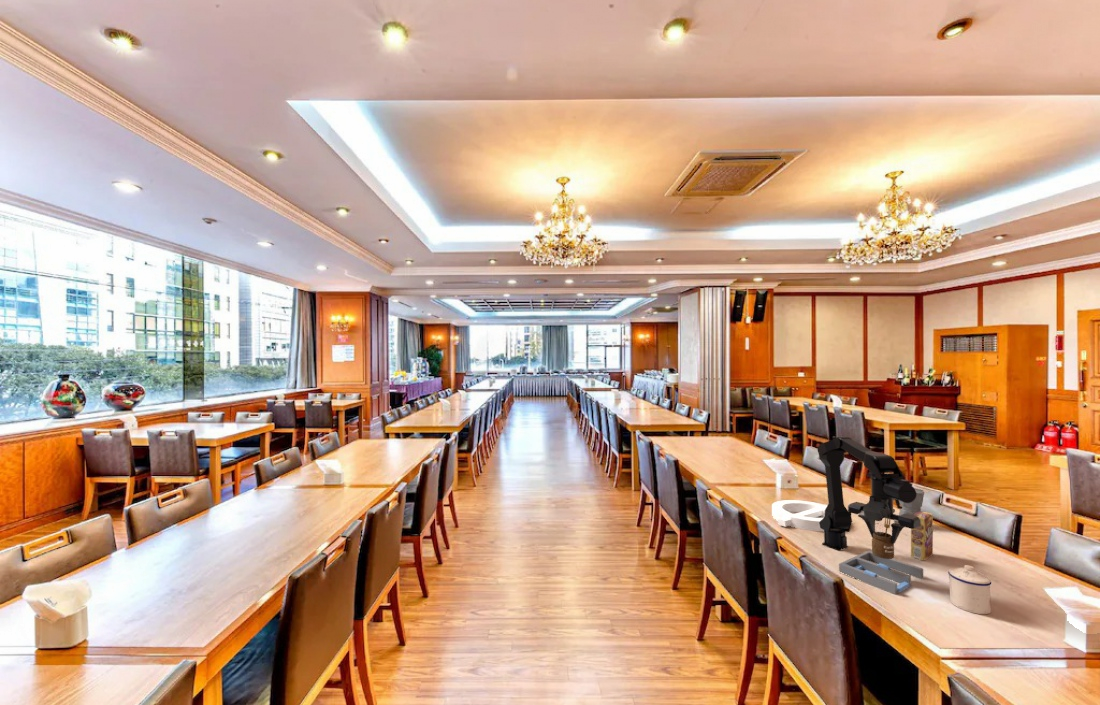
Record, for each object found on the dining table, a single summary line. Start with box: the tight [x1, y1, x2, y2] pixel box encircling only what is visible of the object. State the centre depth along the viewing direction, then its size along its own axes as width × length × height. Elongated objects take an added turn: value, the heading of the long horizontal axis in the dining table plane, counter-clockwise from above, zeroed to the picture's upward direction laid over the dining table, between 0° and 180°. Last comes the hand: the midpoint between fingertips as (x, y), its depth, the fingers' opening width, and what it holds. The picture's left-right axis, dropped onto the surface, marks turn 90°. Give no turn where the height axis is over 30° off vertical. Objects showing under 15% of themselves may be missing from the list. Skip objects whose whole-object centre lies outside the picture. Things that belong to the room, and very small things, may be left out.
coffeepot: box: [894, 482, 925, 516], centre depth 190 cm, size 15×9×18 cm, turn 103°
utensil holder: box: [871, 518, 895, 559], centre depth 145 cm, size 6×6×12 cm
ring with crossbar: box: [771, 499, 828, 533], centre depth 197 cm, size 28×28×5 cm
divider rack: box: [838, 550, 924, 595], centre depth 146 cm, size 16×20×4 cm
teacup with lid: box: [947, 564, 992, 615], centre depth 129 cm, size 12×9×12 cm
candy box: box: [910, 510, 934, 561], centre depth 160 cm, size 9×4×15 cm, turn 123°
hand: (883, 540), depth 145 cm, fingers closed on utensil holder, 5 cm apart
